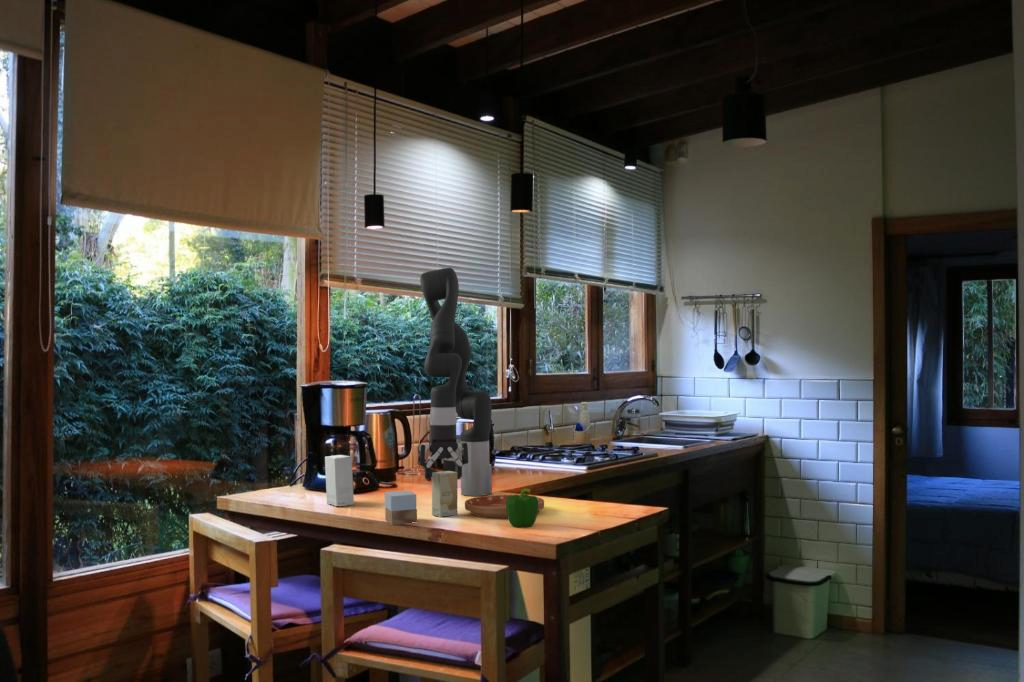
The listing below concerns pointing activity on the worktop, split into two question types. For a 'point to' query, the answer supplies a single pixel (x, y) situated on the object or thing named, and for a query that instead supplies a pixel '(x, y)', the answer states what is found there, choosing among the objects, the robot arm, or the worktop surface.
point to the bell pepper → (522, 509)
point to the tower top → (400, 500)
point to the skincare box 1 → (339, 480)
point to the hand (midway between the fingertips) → (443, 480)
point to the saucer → (492, 506)
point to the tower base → (400, 516)
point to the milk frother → (448, 460)
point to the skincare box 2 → (444, 493)
